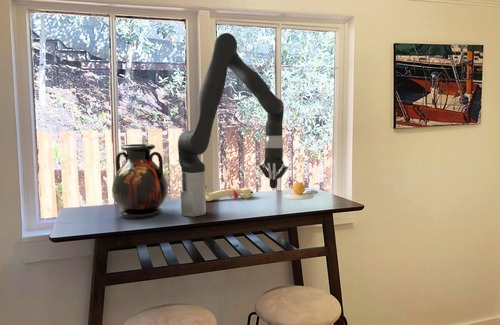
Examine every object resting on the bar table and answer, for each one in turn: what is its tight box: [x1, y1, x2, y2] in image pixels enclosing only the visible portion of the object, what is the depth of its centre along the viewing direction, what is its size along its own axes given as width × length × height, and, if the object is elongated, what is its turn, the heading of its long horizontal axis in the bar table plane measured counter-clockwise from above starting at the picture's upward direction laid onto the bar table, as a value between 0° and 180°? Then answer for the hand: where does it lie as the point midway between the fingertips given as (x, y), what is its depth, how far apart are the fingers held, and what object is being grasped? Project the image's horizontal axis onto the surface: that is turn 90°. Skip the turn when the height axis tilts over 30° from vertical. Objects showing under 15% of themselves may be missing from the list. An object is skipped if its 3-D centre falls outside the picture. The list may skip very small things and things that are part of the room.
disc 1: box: [283, 192, 314, 200], centre depth 204 cm, size 14×14×1 cm
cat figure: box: [205, 185, 255, 202], centre depth 199 cm, size 10×9×25 cm
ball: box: [292, 181, 306, 194], centre depth 208 cm, size 6×6×6 cm
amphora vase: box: [111, 143, 169, 220], centre depth 170 cm, size 22×22×28 cm
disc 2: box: [305, 189, 318, 195], centre depth 214 cm, size 10×10×1 cm
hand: (273, 188), depth 178 cm, fingers closed
